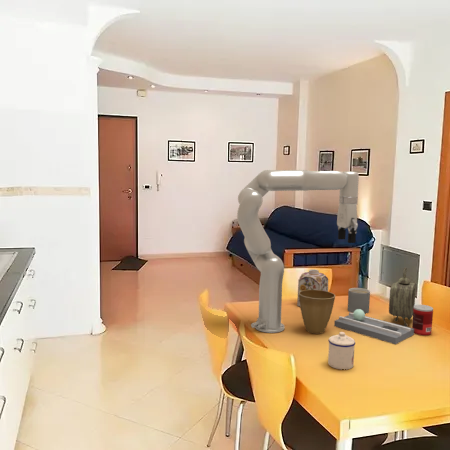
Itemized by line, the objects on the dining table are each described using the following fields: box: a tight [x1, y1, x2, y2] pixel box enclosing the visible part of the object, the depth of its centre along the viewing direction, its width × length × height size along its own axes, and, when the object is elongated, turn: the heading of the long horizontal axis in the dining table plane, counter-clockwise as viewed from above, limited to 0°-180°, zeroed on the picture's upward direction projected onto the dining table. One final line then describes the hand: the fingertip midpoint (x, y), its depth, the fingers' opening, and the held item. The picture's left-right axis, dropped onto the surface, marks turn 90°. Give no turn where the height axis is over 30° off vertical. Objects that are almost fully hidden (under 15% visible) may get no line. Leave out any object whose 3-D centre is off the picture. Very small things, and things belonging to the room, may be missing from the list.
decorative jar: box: [296, 268, 329, 307], centre depth 235 cm, size 12×12×18 cm
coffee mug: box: [347, 287, 371, 315], centre depth 230 cm, size 13×10×10 cm
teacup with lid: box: [327, 331, 356, 371], centre depth 167 cm, size 12×9×12 cm
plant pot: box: [299, 290, 336, 335], centre depth 199 cm, size 15×15×16 cm
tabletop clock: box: [388, 266, 417, 327], centre depth 211 cm, size 14×9×25 cm, turn 152°
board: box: [333, 312, 415, 345], centre depth 201 cm, size 28×16×4 cm, turn 44°
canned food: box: [411, 304, 434, 337], centre depth 199 cm, size 8×8×11 cm
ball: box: [353, 309, 366, 321], centre depth 206 cm, size 5×5×5 cm
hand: (346, 240), depth 203 cm, fingers open, 9 cm apart
